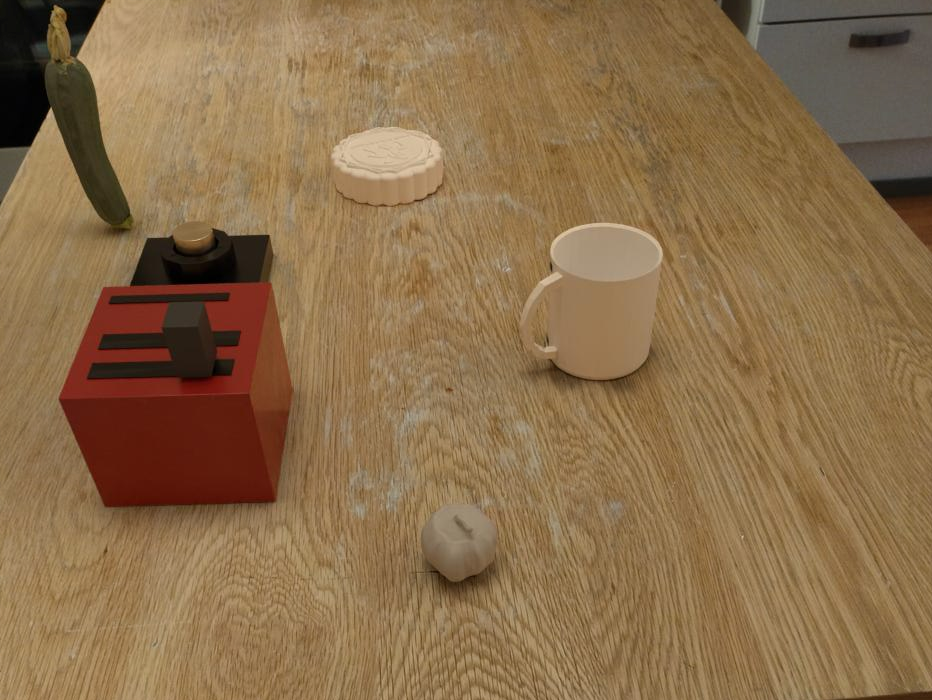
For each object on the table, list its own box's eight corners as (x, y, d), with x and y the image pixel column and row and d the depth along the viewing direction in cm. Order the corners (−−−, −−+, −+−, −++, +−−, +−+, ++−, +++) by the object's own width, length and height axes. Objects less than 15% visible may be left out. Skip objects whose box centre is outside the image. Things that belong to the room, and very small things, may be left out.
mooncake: (355, 217, 100) (351, 182, 98) (319, 168, 107) (314, 135, 104) (460, 192, 103) (459, 158, 100) (419, 147, 110) (417, 114, 107)
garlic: (502, 591, 67) (502, 538, 63) (424, 597, 67) (420, 544, 63) (494, 531, 71) (494, 477, 67) (421, 536, 71) (416, 482, 67)
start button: (174, 259, 89) (169, 241, 87) (180, 239, 91) (176, 221, 90) (213, 258, 89) (208, 240, 87) (218, 238, 91) (214, 220, 90)
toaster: (104, 507, 73) (57, 397, 65) (140, 393, 82) (102, 285, 74) (275, 502, 73) (248, 392, 65) (292, 389, 82) (271, 280, 74)
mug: (627, 314, 88) (639, 216, 81) (664, 371, 83) (680, 271, 76) (501, 335, 86) (502, 236, 79) (530, 395, 81) (533, 295, 74)
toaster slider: (176, 378, 66) (160, 327, 63) (183, 352, 68) (168, 301, 65) (211, 377, 66) (197, 326, 63) (217, 351, 68) (204, 300, 65)
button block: (133, 315, 89) (120, 275, 86) (153, 258, 96) (141, 219, 93) (262, 311, 89) (253, 271, 86) (273, 255, 96) (266, 216, 93)
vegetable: (106, 245, 98) (31, 22, 82) (86, 229, 100) (9, 9, 84) (145, 229, 99) (79, 9, 84) (124, 214, 101) (57, -4, 86)
